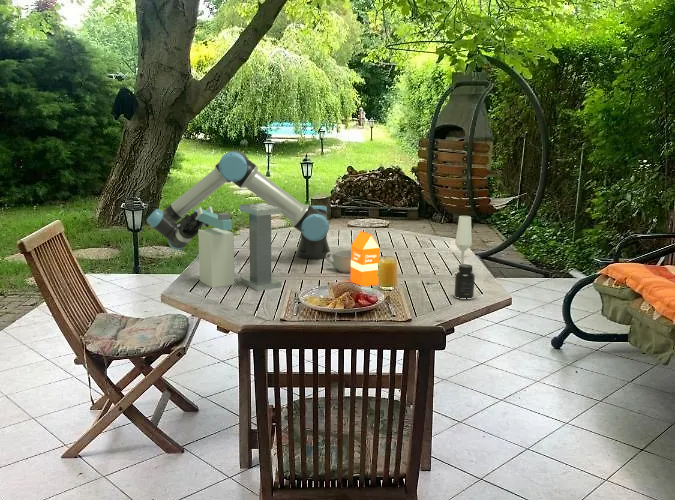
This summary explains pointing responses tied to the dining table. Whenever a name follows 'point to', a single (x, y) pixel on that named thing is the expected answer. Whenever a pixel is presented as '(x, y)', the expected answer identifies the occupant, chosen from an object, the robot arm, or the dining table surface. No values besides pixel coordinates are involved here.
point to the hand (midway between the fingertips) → (206, 210)
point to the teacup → (341, 260)
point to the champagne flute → (463, 235)
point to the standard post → (260, 246)
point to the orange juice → (364, 260)
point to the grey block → (216, 257)
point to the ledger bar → (216, 220)
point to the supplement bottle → (464, 282)
